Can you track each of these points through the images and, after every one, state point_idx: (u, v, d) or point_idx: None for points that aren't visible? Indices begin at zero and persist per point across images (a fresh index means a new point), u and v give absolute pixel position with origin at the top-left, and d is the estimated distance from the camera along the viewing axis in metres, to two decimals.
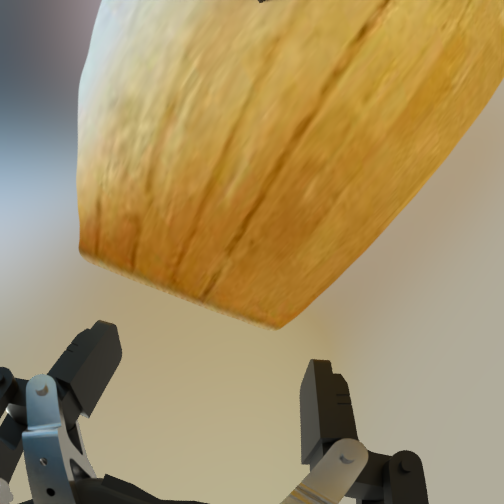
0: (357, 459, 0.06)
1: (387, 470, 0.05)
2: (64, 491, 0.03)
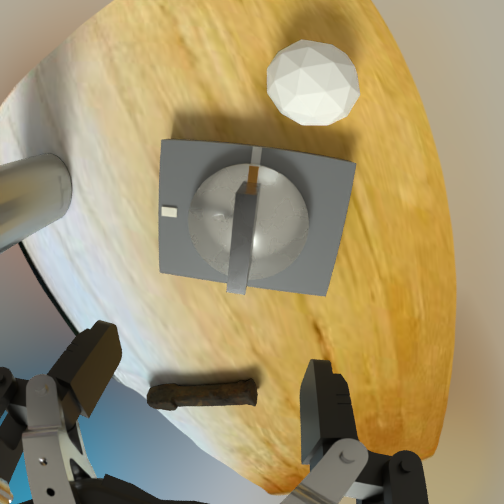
0: (357, 459, 0.06)
1: (387, 470, 0.05)
2: (64, 491, 0.03)
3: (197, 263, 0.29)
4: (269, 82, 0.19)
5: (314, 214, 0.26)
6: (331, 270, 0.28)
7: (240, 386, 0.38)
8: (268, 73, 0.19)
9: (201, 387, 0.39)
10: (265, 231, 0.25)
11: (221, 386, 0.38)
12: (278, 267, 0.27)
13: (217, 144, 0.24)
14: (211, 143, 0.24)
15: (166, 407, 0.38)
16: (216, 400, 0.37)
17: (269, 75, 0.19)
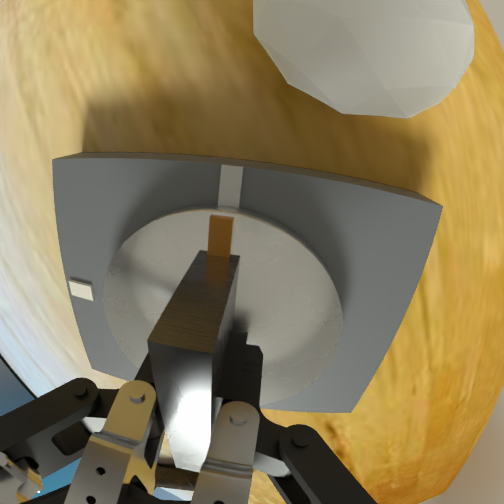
0: (245, 422, 0.07)
1: (281, 451, 0.06)
2: None
3: None
4: (258, 4, 0.06)
5: (351, 306, 0.12)
6: (366, 384, 0.14)
7: None
8: None
9: (179, 471, 0.26)
10: None
11: None
12: (276, 395, 0.13)
13: (145, 162, 0.10)
14: (133, 161, 0.10)
15: None
16: None
17: None
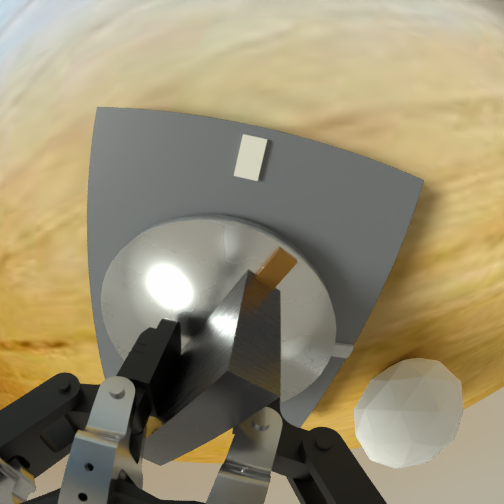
0: (269, 427, 0.07)
1: (304, 452, 0.06)
2: (98, 502, 0.03)
3: (119, 207, 0.11)
4: (437, 390, 0.12)
5: None
6: None
7: None
8: (448, 387, 0.12)
9: None
10: None
11: None
12: None
13: (377, 292, 0.12)
14: (383, 282, 0.12)
15: None
16: None
17: (445, 391, 0.11)
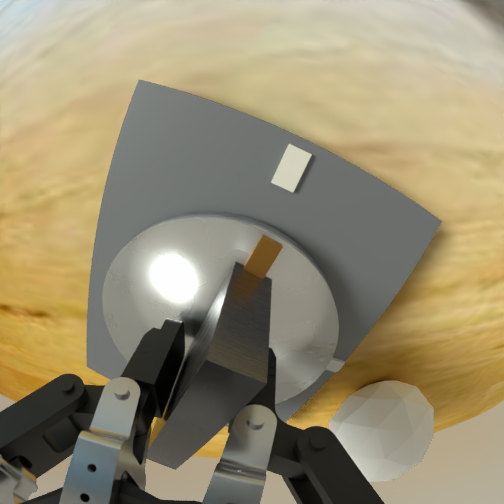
0: (263, 426, 0.07)
1: (299, 452, 0.06)
2: (101, 503, 0.03)
3: (142, 189, 0.11)
4: (413, 413, 0.12)
5: None
6: None
7: None
8: (423, 412, 0.13)
9: None
10: None
11: None
12: None
13: (377, 316, 0.12)
14: (384, 308, 0.12)
15: None
16: None
17: (420, 416, 0.12)
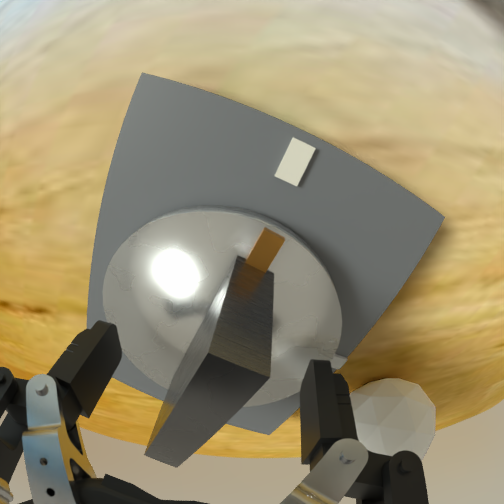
0: (357, 459, 0.06)
1: (387, 470, 0.05)
2: (64, 491, 0.03)
3: (144, 182, 0.11)
4: (415, 411, 0.12)
5: None
6: (124, 382, 0.16)
7: None
8: (425, 410, 0.12)
9: None
10: None
11: None
12: None
13: (380, 312, 0.12)
14: (387, 304, 0.12)
15: None
16: None
17: (422, 413, 0.12)
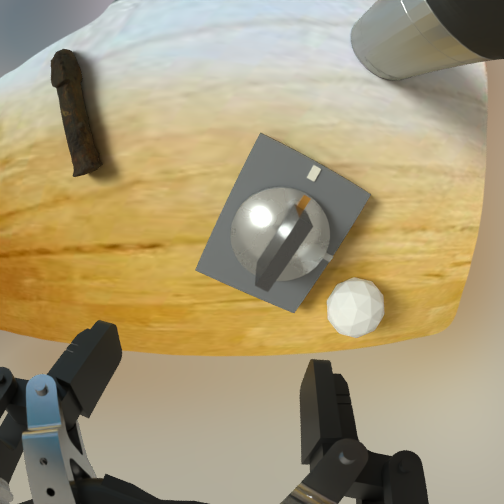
0: (357, 459, 0.06)
1: (387, 470, 0.05)
2: (64, 491, 0.03)
3: (257, 176, 0.30)
4: (369, 288, 0.32)
5: None
6: (218, 279, 0.35)
7: (94, 155, 0.30)
8: (374, 289, 0.32)
9: (84, 111, 0.28)
10: None
11: (90, 133, 0.29)
12: (288, 276, 0.33)
13: (345, 233, 0.32)
14: (348, 229, 0.31)
15: (55, 75, 0.23)
16: (74, 131, 0.27)
17: (373, 290, 0.32)
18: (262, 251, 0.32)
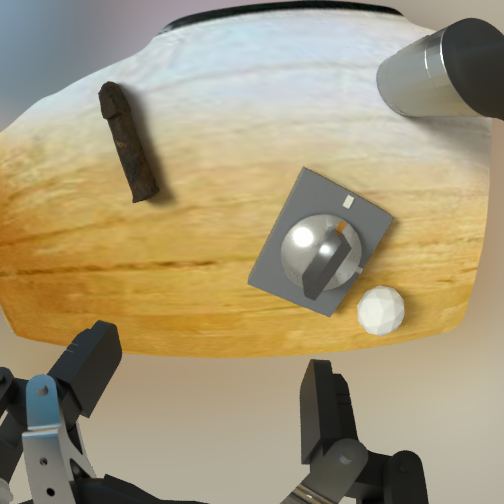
0: (357, 459, 0.06)
1: (387, 470, 0.05)
2: (64, 491, 0.03)
3: (302, 205, 0.36)
4: (392, 294, 0.37)
5: None
6: (267, 291, 0.41)
7: (151, 182, 0.37)
8: (397, 295, 0.37)
9: (137, 141, 0.35)
10: None
11: (145, 162, 0.36)
12: (327, 287, 0.39)
13: (373, 249, 0.37)
14: (375, 246, 0.37)
15: (105, 108, 0.30)
16: (132, 161, 0.34)
17: (396, 296, 0.37)
18: (306, 267, 0.38)
